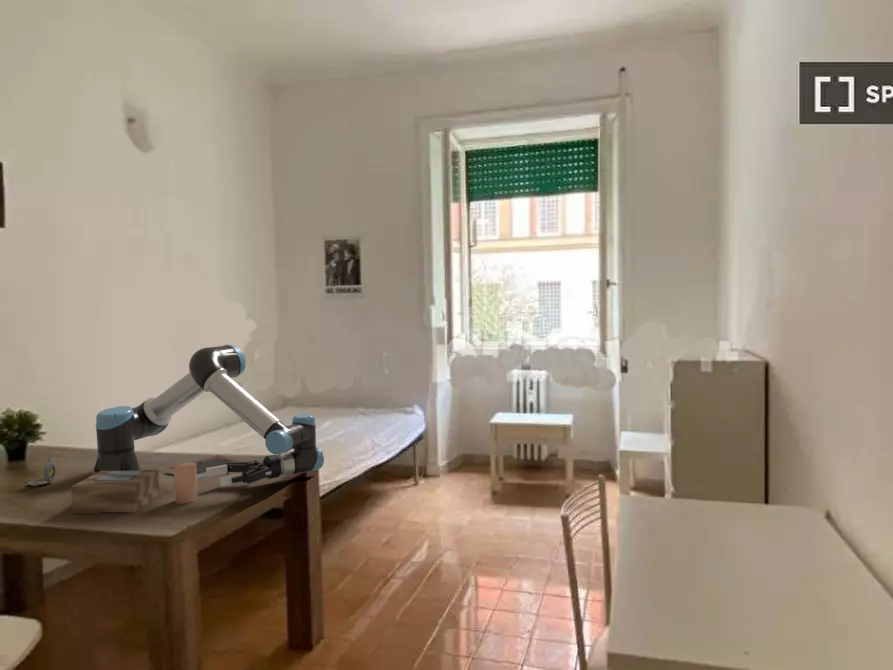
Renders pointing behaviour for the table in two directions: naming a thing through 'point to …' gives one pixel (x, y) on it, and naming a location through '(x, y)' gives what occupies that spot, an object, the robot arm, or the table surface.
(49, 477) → the pocket watch
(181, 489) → the terracotta cylinder
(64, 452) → the table surface
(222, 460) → the picture frame
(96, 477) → the walnut box
